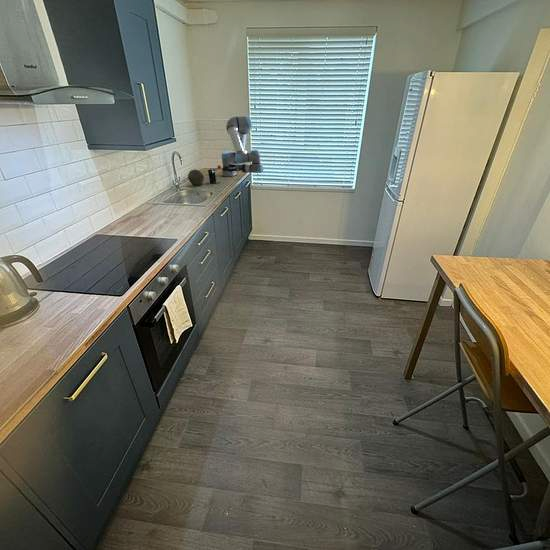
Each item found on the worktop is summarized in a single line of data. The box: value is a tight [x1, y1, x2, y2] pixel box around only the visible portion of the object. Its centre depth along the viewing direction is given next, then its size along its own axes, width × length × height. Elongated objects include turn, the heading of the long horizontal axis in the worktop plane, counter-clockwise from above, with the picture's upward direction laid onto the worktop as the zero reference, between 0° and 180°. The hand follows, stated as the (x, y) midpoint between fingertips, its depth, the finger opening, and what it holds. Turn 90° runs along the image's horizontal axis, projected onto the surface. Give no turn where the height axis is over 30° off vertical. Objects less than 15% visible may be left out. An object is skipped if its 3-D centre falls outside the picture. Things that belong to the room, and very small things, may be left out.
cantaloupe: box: [187, 169, 205, 187], centre depth 275 cm, size 14×14×15 cm
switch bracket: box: [205, 168, 221, 185], centre depth 281 cm, size 11×9×13 cm
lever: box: [211, 164, 222, 172], centre depth 276 cm, size 13×4×4 cm, turn 71°
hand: (225, 167), depth 272 cm, fingers open, 13 cm apart
